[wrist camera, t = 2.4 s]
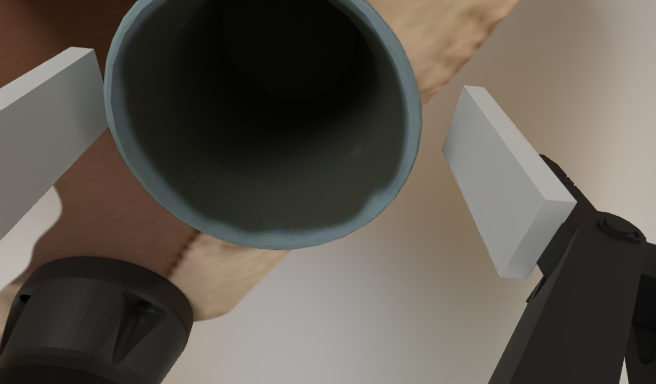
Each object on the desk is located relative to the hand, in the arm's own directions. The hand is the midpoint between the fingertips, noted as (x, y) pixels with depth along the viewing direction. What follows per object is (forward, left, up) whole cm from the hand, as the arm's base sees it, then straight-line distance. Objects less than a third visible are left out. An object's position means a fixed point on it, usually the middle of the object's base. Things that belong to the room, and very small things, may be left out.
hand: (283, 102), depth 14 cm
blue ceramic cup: (0, 0, -10) cm, 10 cm away
